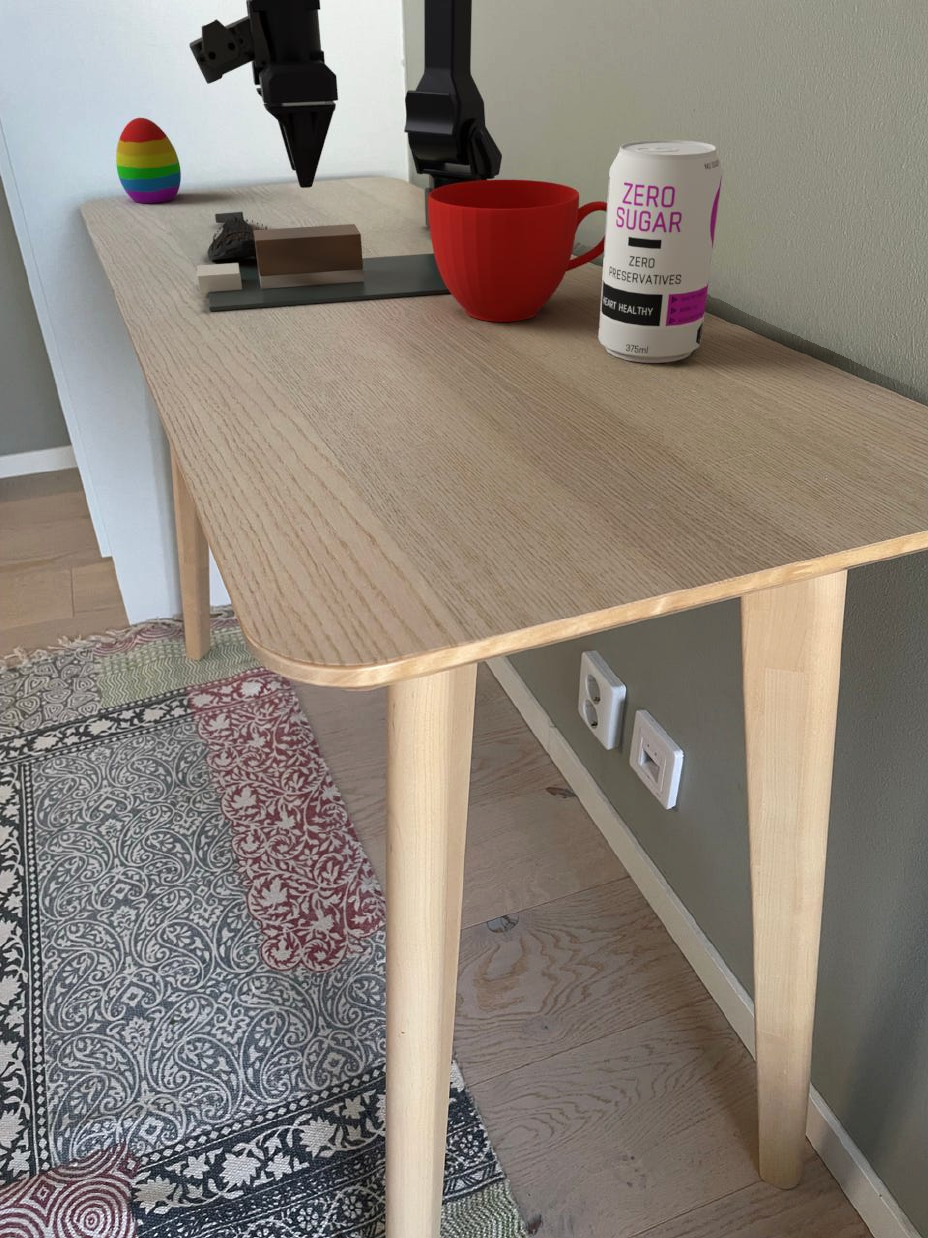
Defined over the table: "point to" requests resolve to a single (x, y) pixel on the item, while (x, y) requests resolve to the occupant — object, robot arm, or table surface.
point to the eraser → (309, 256)
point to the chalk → (219, 277)
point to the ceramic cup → (506, 243)
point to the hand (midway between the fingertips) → (301, 178)
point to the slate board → (340, 285)
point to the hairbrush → (233, 238)
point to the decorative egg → (147, 163)
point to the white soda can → (658, 248)
